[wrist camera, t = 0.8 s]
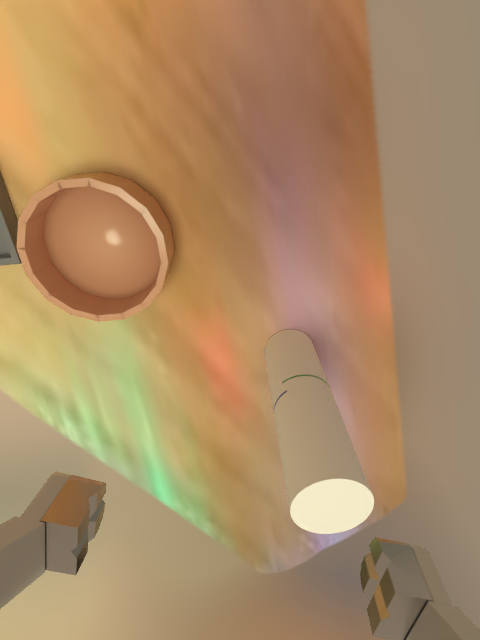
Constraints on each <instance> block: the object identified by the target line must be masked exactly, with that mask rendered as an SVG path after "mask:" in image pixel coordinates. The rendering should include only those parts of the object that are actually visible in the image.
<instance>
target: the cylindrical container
mask: <svg viewBox="0 0 480 640" xmlns="http://www.w3.org/2000/svg"><path fill="white" fill-rule="evenodd" d="M264 355H265V361H266V368H267V374H268V380H269V386H270V392H271V398H272V404H273V410H274V417H275V423H276V429H277V435H278V441H279V447H280V453H281V459H282V465H283V471H284V478H285V484H286V490H287V496H288V502H289V508H290V514H291V517H292V519H293V521H294V522H295V523H296V524H297V525H298V526H299V527H301V528H303V529H304V530H307V531H310V532H314V533H320V534H331V533H338V532H343V531H346V530H349V529H351V528H353V527H355V526H357V525H359V524H360V523H362V522H363V521H364V520H365V519H366V518H367V517H368V516H369V515H370V513H371V511H372V509H373V505H374V498H373V495H372V492H371V490H370V487H369V485H368V482H367V480H366V477H365V475H364V472H363V470H362V467H361V465H360V462H359V459H358V457H357V454H356V452H355V449H354V447H353V444H352V442H351V439H350V437H349V434H348V432H347V429H346V427H345V424H344V422H343V419H342V416H341V414H340V411H339V409H338V406H337V404H336V401H335V399H334V396H333V394H332V391H331V389H330V386H329V384H328V381H327V379H326V376H325V374H324V371H323V369H322V366H321V364H320V361H319V358H318V356H317V353H316V351H315V348H314V346H313V343H312V341H311V339H310V338H309V337H308V336H307V335H306V334H305V333H303V332H301V331H298V330H292V329H291V330H283V331H280V332H278V333H276V334H274V335H273V336H272V337H271V338H270V339H269V340H268V341H267V343H266V345H265V349H264Z"/></svg>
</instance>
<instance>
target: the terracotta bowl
mask: <svg viewBox="0 0 480 640" xmlns="http://www.w3.org/2000/svg"><path fill="white" fill-rule="evenodd" d="M174 250H175V249H174V242H173V236H172V230H171V224H170V222H169V221H168V219H167V217H166V216H165V214H164V212H163V211H162V209H161V207H160V205H159V204H158V202H157V200H156V199H155V198H153V197H152V196H151V195H150V194H148V193H147V192H146V191H145V190H143V189H142V188H141V187H140V186H138V185H137V184H136V183H135V182H133V181H131V180H128V179H125V178H122V177H119V176H116V175H113V174H110V173H107V172H98V173H87V174H77V175H73V176H70V177H67V178H63V179H60V180H57V181H55V182H54V183H52V184H50V185H49V186H47V187H45V188H44V189H42V190H41V191H39V192H37V193H36V194H34V195H32V197H31V198H30V200H29V202H28V204H27V205H26V207H25V209H24V211H23V212H22V214H21V216H20V217H19V219H18V231H17V251H18V253H19V256H20V259H21V262H22V264H23V267H24V270H25V273H26V275H27V277H28V278H29V279H30V280H31V282H32V283H33V284H34V285H35V286H36V288H37V289H38V290H39V291H40V292H41V294H42V295H43V296H44V297H45V298H46V299H47V300H49V301H50V302H52V303H53V304H55V305H57V306H58V307H60V308H61V309H63V310H64V311H66V312H68V313H69V314H71V315H75V316H79V317H83V318H87V319H91V320H94V321H108V320H120V319H126V318H128V317H130V316H132V315H134V314H136V313H138V312H140V311H142V310H144V309H146V308H147V307H148V306H149V304H150V303H151V302H152V301H153V300H154V298H155V297H156V296H157V295H158V293H159V292H160V291H161V290H162V288H163V286H164V283H165V281H166V278H167V276H168V273H169V270H170V266H171V262H172V258H173V254H174Z"/></svg>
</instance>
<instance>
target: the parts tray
mask: <svg viewBox="0 0 480 640" xmlns="http://www.w3.org/2000/svg"><path fill="white" fill-rule="evenodd" d="M17 231H18V221H17V218H16V215H15V212H14V209H13V206H12V204H11V201H10V198H9V195H8V192H7V189H6V187H5V184H4V181H3V178H2V175H1V172H0V265H10V264H21V263H22V262H21V259H20V256H19V253H18V251H17Z"/></svg>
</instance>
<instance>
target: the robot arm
mask: <svg viewBox="0 0 480 640" xmlns="http://www.w3.org/2000/svg"><path fill="white" fill-rule="evenodd" d="M105 492H106V483H104V482H100V481H95V480H91V479H87V478H83V477H78V476H74V475H68V474H64V473H60V472H55V473H54V474H52V475H51V476H50V478H49V479H48V480H47V482H46V483H45V484H44V486H43V487H42V488H41V490H40V491H39V492H38V494H37V495H36V497H35V498H34V499H33V501H32V502H31V503H30V505H29V506H28V507H27V509H26V510H25V511H24V513H23V514H22V516H21V517H13V518H11V519H10V520H8V521H6V522H5V523H2V524H1V525H0V608H2V607H3V606H4V605H6V604H7V603H8V602H9V601H10V600H12V599H13V598H14V597H15V596H16V595H18V594H19V593H20V592H21V591H23V590H24V589H25V588H26V587H27V586H29V585H30V584H31V583H32V582H34V581H35V580H36V579H37V578H38V577H40V576H41V575H42V574H43V573H44V572H45V570H49V571H55V572H61V573H66V574H72V575H76V574H77V572H78V570H79V568H80V566H81V564H82V562H83V560H84V558H85V556H86V554H87V550H88V542H89V541H90V540H92V539H93V538H94V537H95V535H96V533H97V531H98V529H99V526H100V523H101V520H102V517H103V513H104V507H105V506H104V505H105V503H104V501H103V500H102V498H103V496H104V494H105ZM369 547H370V551H371V553H369V554H367V555H366V556H364V558H363V561H362V563H361V571H360V579H361V586H362V590H363V593H364V594H365V596H366V597H367V598H368V600H369V601H370V603H369V605H368V607H367V612H368V616H369V621H370V625H371V630H372V634H373V636H377V637H381V638H385V639H389V640H480V630H479V629H478V627H477V626H476V625H475V624H474V623H473V622H472V621H471V620H470V619H469V618H468V617H467V616H466V615H465V614H464V613H463V612H462V611H461V609H460V608H459V607H456V606H453V605H452V603H451V600H450V598H449V596H448V594H447V591H446V589H445V587H444V585H443V582H442V580H441V577H440V575H439V573H438V571H437V568H436V566H435V564H434V562H433V559H432V557H431V555H430V552H429V551H428V550H427V548H426V547H421V546H416V545H411V544H407V543H402V542H397V541H392V540H387V539H381V538H376V537H375V538H374V539H372V541H371V543H370V545H369Z"/></svg>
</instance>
